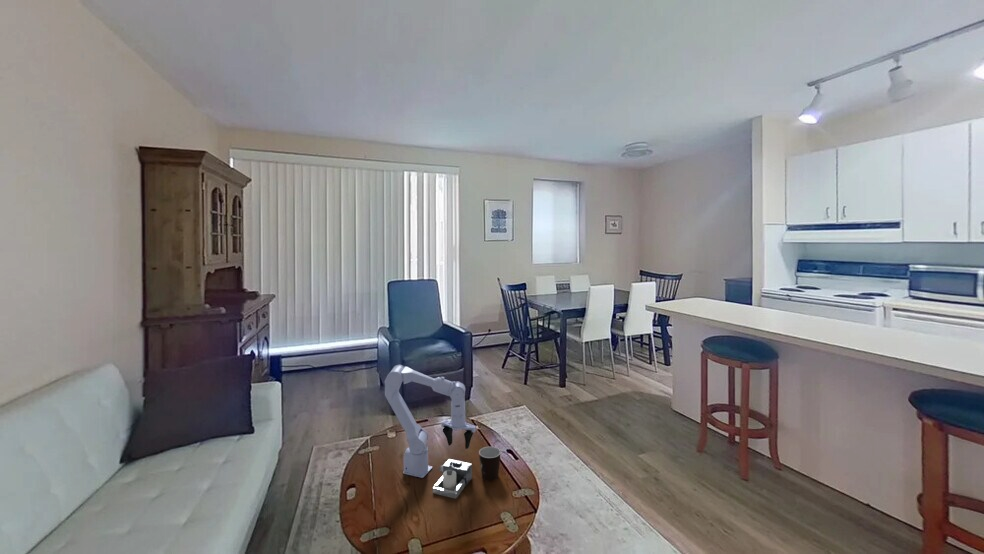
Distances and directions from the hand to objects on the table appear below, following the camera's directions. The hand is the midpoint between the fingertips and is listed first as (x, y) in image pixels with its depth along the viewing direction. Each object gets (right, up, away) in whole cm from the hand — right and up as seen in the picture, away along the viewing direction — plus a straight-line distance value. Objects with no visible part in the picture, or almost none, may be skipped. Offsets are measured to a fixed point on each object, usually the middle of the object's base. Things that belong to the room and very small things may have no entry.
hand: (458, 446), depth 158 cm
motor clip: (-3, -11, -9) cm, 14 cm away
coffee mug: (+13, -11, -2) cm, 17 cm away
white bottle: (-2, -11, -11) cm, 16 cm away
